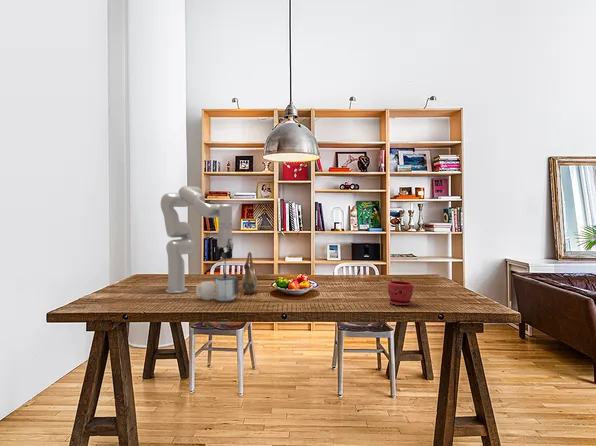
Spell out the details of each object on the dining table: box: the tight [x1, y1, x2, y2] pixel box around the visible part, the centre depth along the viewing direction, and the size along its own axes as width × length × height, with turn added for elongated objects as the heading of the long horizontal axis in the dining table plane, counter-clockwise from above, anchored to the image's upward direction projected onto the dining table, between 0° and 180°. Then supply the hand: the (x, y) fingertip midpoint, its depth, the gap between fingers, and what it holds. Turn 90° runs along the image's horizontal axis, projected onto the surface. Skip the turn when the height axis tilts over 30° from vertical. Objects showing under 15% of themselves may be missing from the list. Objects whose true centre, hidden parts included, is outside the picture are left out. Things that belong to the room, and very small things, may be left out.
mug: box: [195, 280, 215, 301], centre depth 226 cm, size 8×10×9 cm
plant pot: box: [387, 280, 414, 306], centre depth 215 cm, size 13×13×12 cm
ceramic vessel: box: [241, 251, 258, 295], centre depth 240 cm, size 16×9×25 cm, turn 172°
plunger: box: [221, 251, 227, 278], centre depth 221 cm, size 7×7×16 cm
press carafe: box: [212, 274, 239, 303], centre depth 223 cm, size 10×13×13 cm
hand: (225, 257), depth 221 cm, fingers open, 9 cm apart
